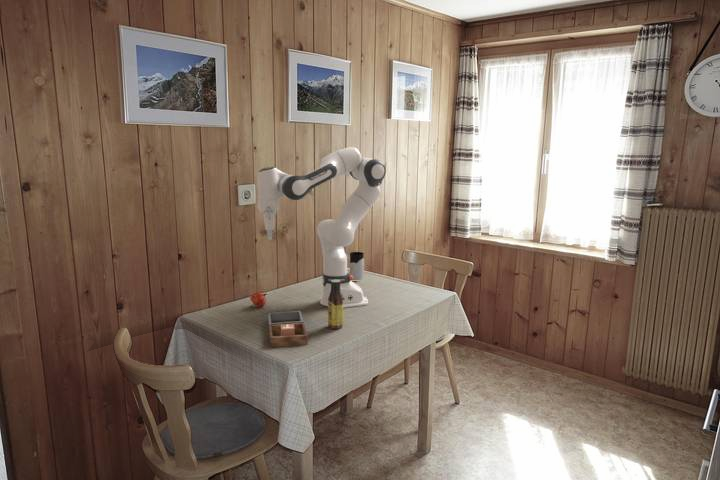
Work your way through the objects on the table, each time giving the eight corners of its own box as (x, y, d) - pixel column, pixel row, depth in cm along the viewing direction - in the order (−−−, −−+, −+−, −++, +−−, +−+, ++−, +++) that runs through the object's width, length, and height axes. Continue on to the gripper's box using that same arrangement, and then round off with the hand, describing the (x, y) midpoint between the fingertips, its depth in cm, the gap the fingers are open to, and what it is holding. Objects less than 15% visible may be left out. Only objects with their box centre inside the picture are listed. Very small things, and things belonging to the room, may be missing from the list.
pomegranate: (251, 315, 228) (269, 302, 227) (242, 302, 227) (259, 289, 226) (256, 311, 235) (272, 298, 234) (246, 299, 235) (263, 286, 234)
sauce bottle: (327, 324, 210) (327, 278, 206) (342, 324, 210) (342, 277, 206) (328, 330, 203) (327, 282, 200) (343, 329, 204) (343, 282, 200)
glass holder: (359, 282, 273) (359, 255, 270) (337, 279, 280) (337, 252, 277) (367, 279, 280) (367, 252, 278) (346, 275, 287) (345, 249, 285)
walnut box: (304, 331, 202) (303, 322, 201) (307, 344, 189) (307, 335, 188) (269, 333, 199) (269, 325, 199) (270, 346, 186) (270, 338, 185)
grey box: (300, 318, 216) (300, 310, 216) (303, 329, 203) (303, 321, 203) (268, 320, 214) (268, 312, 213) (269, 332, 201) (269, 323, 200)
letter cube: (293, 336, 197) (293, 323, 196) (294, 340, 192) (294, 328, 191) (280, 337, 196) (280, 324, 195) (281, 341, 191) (281, 329, 190)
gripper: (277, 208, 204) (278, 242, 207) (275, 202, 224) (276, 233, 227) (261, 208, 203) (262, 242, 206) (260, 203, 223) (261, 233, 225)
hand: (269, 237), depth 216 cm, fingers open, 8 cm apart
